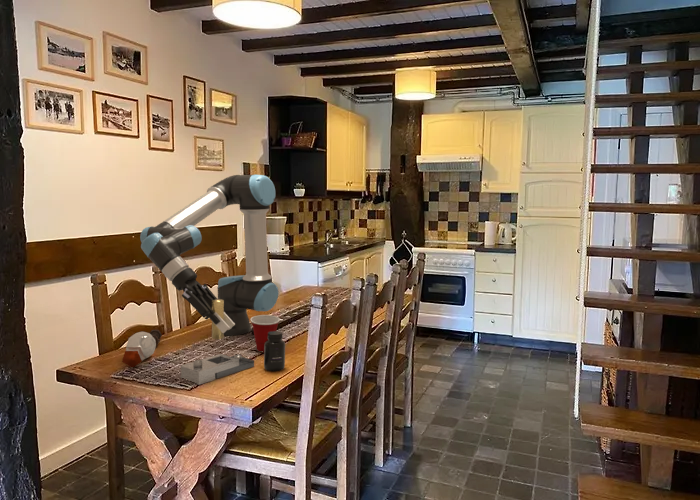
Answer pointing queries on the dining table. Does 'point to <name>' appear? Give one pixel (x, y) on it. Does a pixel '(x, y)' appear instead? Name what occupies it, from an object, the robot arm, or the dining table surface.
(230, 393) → the dining table surface
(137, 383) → the dining table surface
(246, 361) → the lower chain end
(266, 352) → the supplement bottle
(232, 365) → the grey socket block
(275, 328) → the plastic cup
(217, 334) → the brass pin
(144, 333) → the potion bottle
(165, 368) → the dining table surface
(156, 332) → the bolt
